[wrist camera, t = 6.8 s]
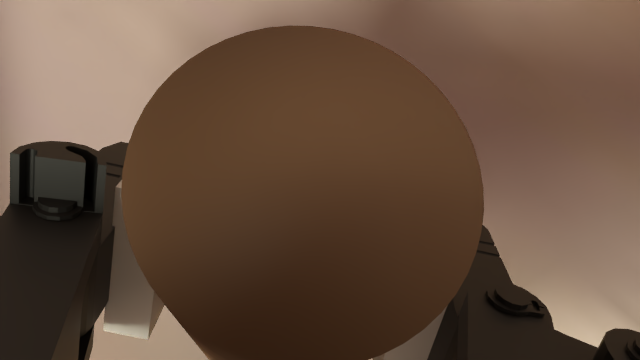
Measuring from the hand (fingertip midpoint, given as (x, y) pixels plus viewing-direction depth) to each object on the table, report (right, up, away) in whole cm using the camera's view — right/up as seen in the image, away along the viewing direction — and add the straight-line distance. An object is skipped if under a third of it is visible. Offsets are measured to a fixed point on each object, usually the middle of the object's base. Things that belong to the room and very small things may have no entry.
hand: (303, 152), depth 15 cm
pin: (-1, -5, +2) cm, 6 cm away
